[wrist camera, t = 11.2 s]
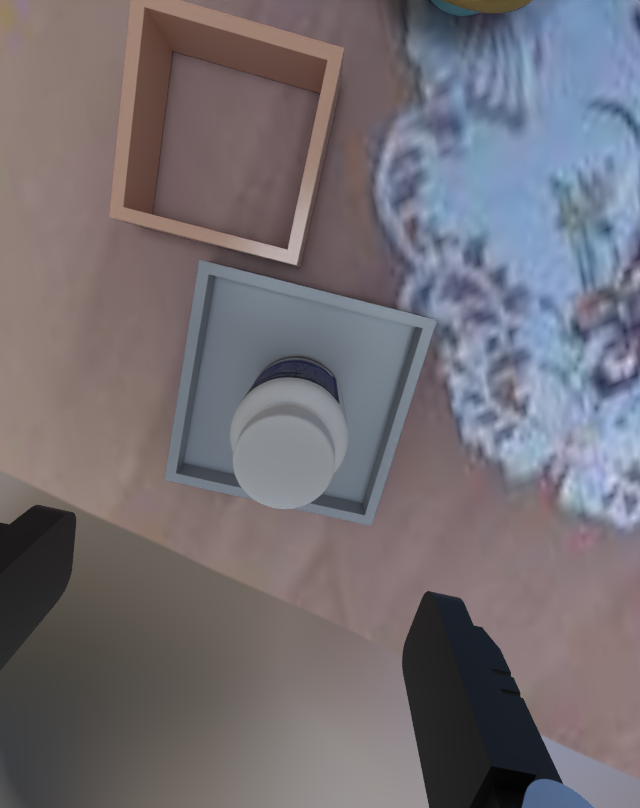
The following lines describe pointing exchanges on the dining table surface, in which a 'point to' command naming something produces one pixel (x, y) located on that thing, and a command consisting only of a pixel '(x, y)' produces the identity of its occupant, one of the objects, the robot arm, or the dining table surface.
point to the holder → (232, 47)
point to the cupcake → (478, 6)
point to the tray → (283, 336)
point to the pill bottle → (289, 433)
